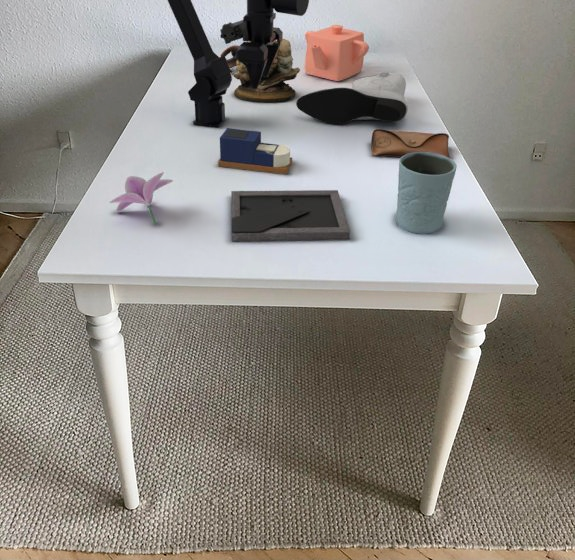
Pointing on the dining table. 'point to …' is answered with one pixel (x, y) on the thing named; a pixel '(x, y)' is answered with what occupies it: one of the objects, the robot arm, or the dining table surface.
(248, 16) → the robot arm
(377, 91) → the cowboy boot
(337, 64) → the teapot
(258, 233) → the picture frame
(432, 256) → the dining table surface
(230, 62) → the pottery mug
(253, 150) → the toy high-top shoe
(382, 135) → the sunglasses case
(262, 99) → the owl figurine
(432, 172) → the green embossed cup
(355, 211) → the dining table surface
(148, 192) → the lily
